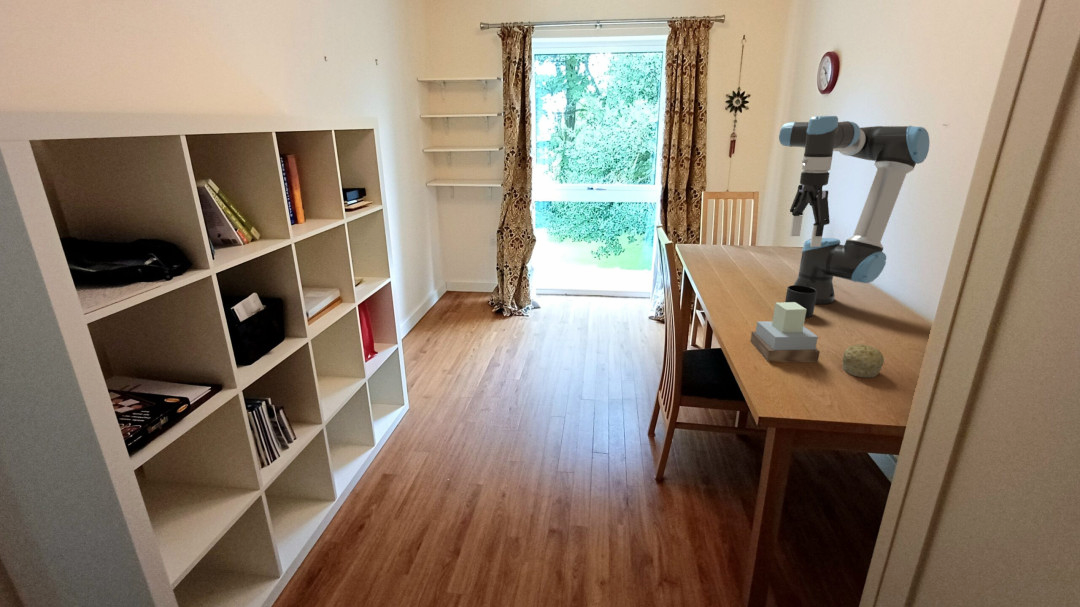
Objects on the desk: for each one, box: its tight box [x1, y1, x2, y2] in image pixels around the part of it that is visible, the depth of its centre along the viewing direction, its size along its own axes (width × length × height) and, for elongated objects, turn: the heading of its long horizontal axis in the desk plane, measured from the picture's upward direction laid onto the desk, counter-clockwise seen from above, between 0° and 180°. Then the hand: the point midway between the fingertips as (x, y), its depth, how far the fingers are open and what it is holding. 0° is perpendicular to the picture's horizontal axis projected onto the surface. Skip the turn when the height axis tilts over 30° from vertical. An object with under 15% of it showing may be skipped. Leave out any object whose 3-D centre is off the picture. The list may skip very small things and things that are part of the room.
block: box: [771, 301, 807, 333], centre depth 147 cm, size 6×6×7 cm
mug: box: [784, 284, 817, 319], centre depth 180 cm, size 9×12×9 cm
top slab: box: [755, 320, 819, 350], centre depth 149 cm, size 12×12×4 cm
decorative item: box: [842, 344, 885, 378], centre depth 138 cm, size 10×10×10 cm
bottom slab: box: [750, 331, 821, 363], centre depth 150 cm, size 14×14×4 cm
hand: (804, 241), depth 159 cm, fingers open, 13 cm apart
